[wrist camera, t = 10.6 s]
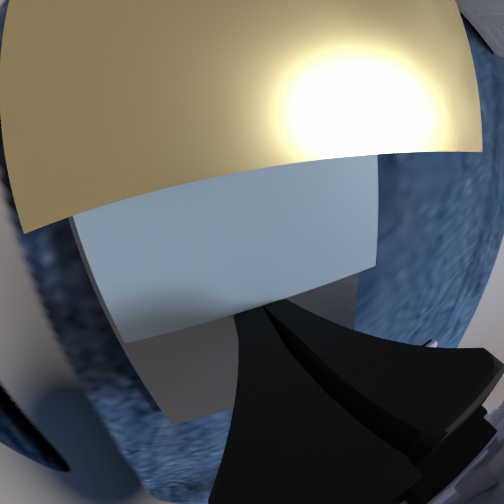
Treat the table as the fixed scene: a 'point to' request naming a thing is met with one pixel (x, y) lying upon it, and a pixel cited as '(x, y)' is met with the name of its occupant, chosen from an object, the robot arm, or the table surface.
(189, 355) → the vise
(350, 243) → the block
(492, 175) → the table surface
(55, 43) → the brass block
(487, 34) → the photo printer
